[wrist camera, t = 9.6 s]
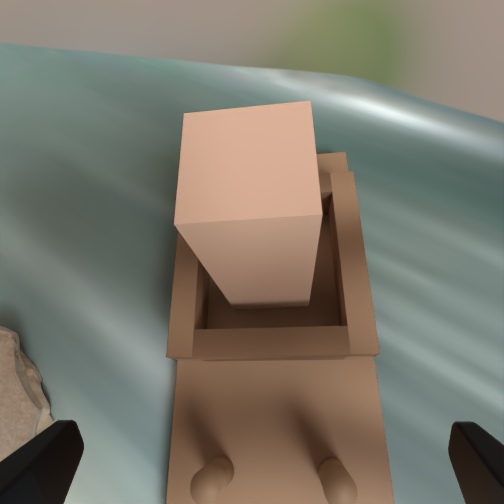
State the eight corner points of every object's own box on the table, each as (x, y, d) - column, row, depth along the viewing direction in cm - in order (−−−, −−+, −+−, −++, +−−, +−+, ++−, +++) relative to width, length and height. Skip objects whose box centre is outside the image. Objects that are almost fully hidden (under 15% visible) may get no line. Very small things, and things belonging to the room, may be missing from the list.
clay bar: (308, 306, 18) (322, 214, 9) (234, 309, 18) (174, 224, 9) (303, 238, 19) (310, 100, 10) (235, 242, 20) (184, 113, 11)
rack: (392, 535, 15) (427, 585, 11) (172, 526, 16) (133, 569, 12) (342, 163, 23) (352, 116, 19) (197, 174, 24) (179, 131, 20)
